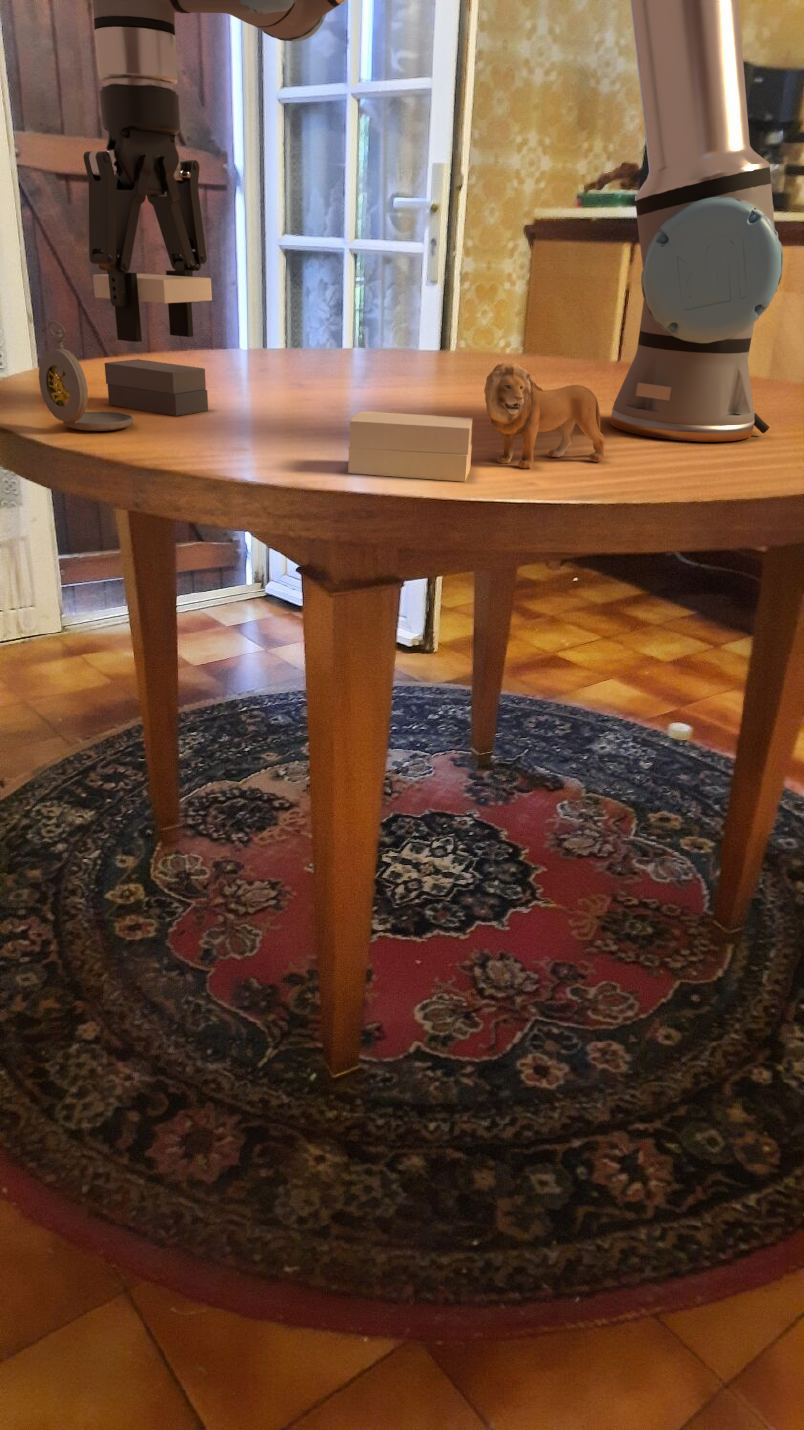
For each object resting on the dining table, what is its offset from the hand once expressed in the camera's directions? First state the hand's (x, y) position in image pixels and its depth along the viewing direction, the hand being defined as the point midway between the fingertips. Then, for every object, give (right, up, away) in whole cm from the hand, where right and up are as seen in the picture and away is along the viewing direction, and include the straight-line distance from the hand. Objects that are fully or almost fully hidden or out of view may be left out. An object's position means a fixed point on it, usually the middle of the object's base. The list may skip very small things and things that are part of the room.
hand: (156, 337), depth 108 cm
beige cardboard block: (+27, -19, -20) cm, 39 cm away
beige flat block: (0, +3, -2) cm, 4 cm away
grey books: (-1, -7, +3) cm, 7 cm away
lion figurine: (+39, -17, -15) cm, 45 cm away
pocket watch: (-5, -12, -9) cm, 16 cm away
